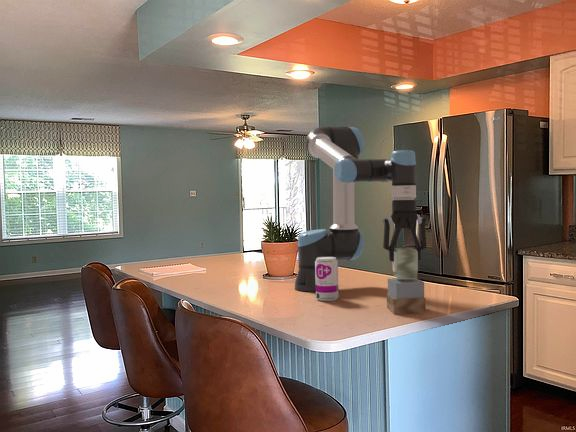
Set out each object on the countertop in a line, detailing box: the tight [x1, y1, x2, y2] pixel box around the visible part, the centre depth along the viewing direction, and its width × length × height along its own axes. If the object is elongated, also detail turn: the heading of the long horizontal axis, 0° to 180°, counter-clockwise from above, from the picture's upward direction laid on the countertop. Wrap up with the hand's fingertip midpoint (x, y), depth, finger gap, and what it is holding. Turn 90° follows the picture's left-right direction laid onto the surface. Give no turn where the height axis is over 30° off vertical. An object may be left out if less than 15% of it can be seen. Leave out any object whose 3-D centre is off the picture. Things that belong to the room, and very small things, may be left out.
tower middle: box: [387, 277, 425, 299], centre depth 167 cm, size 9×9×5 cm
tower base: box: [386, 292, 427, 315], centre depth 167 cm, size 10×10×5 cm
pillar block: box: [393, 247, 418, 279], centre depth 167 cm, size 6×6×9 cm
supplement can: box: [315, 257, 339, 302], centre depth 187 cm, size 8×8×15 cm
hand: (405, 271), depth 167 cm, fingers closed on pillar block, 6 cm apart
